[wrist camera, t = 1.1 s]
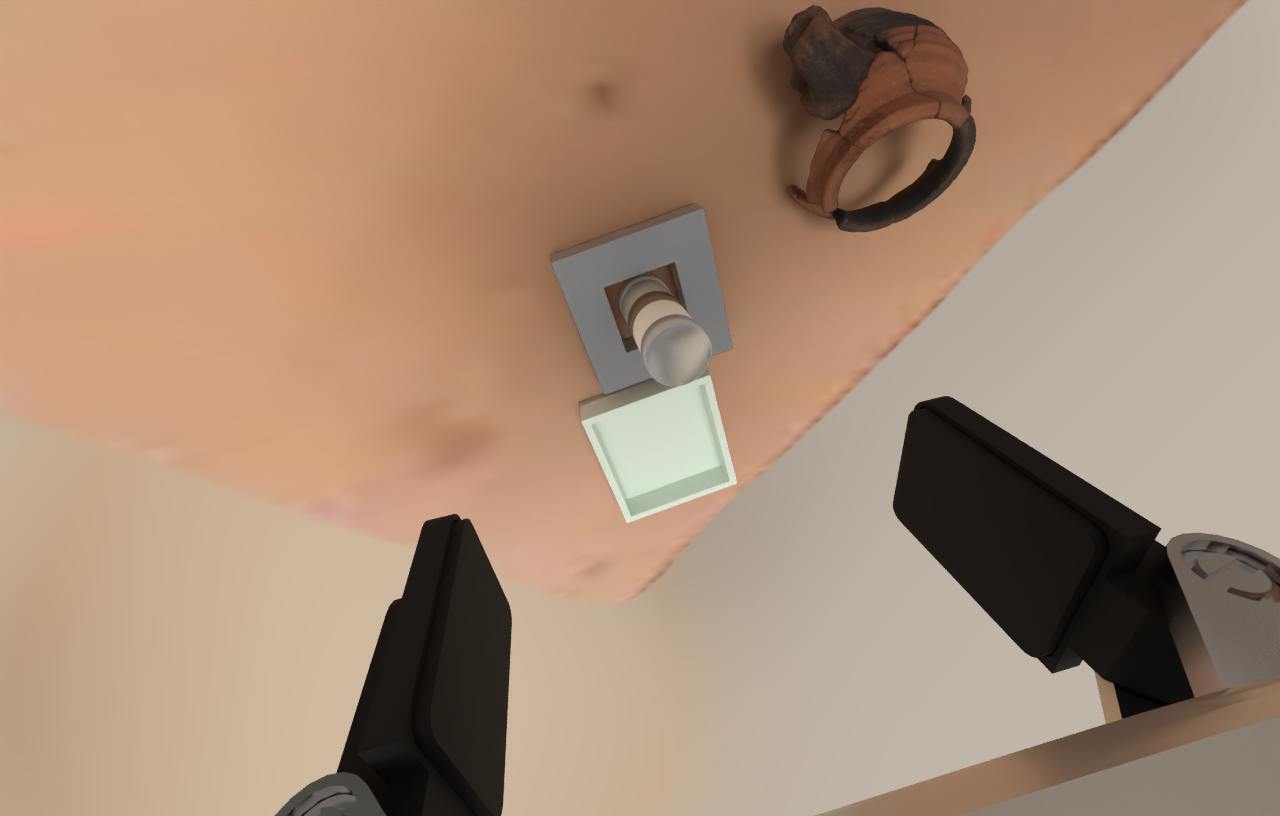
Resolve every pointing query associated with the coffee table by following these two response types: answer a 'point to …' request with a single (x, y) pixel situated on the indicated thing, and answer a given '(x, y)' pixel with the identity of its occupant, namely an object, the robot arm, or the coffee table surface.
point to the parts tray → (659, 444)
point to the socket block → (625, 257)
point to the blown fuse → (664, 331)
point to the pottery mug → (876, 103)
